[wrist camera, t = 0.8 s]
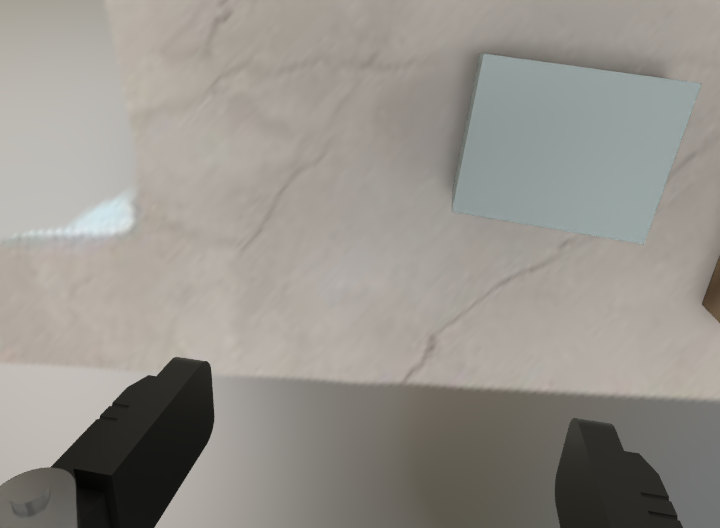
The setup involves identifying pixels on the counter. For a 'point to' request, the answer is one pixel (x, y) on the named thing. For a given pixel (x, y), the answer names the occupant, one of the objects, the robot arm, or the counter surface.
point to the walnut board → (714, 294)
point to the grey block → (569, 146)
